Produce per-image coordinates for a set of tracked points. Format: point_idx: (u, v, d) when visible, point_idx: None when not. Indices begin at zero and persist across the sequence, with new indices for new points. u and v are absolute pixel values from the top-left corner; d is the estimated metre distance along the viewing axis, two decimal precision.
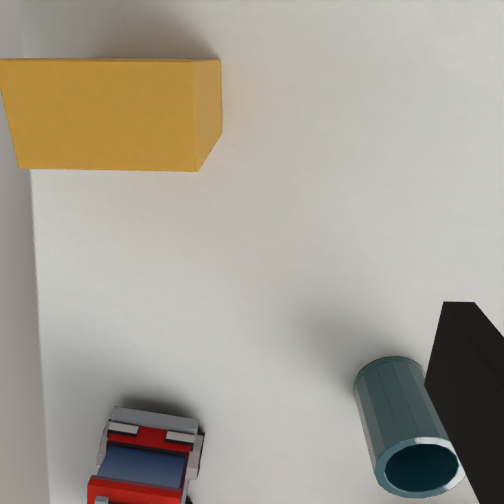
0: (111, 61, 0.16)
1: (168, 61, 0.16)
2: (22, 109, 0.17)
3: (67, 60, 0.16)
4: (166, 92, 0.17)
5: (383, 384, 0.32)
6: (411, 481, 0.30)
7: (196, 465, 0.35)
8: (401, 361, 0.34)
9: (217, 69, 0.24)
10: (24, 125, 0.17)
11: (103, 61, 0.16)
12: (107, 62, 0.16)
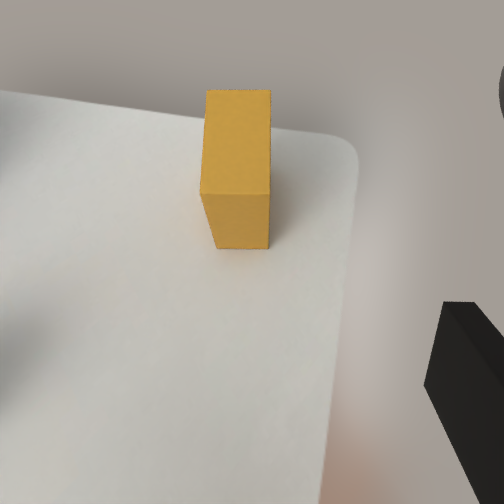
0: (269, 149, 0.27)
1: (269, 180, 0.26)
2: (242, 98, 0.28)
3: (270, 126, 0.27)
4: (251, 178, 0.26)
5: None
6: None
7: None
8: None
9: (262, 241, 0.33)
10: (233, 97, 0.28)
11: (269, 145, 0.27)
12: (269, 147, 0.27)
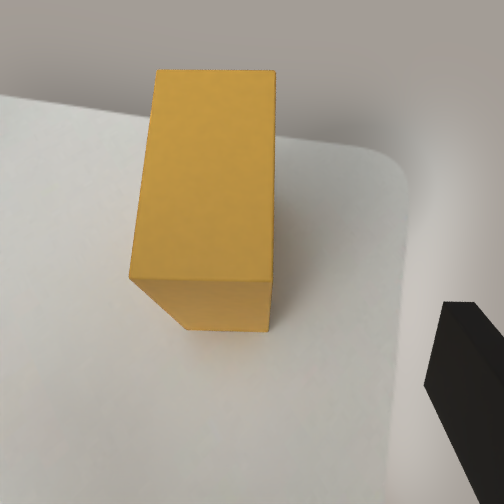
0: (272, 185, 0.13)
1: (272, 251, 0.13)
2: (222, 86, 0.15)
3: (273, 140, 0.14)
4: (235, 245, 0.13)
5: None
6: None
7: None
8: None
9: (258, 326, 0.20)
10: (205, 84, 0.15)
11: (272, 177, 0.14)
12: (271, 181, 0.13)
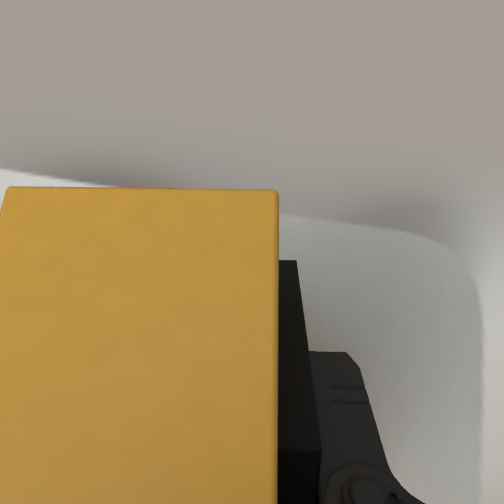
0: None
1: None
2: (153, 231, 0.06)
3: (275, 388, 0.06)
4: None
5: None
6: None
7: None
8: None
9: None
10: (112, 227, 0.06)
11: None
12: None
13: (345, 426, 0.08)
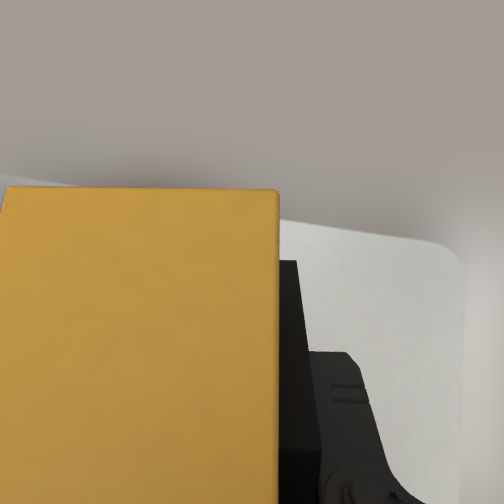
0: None
1: None
2: (154, 231, 0.06)
3: (276, 387, 0.06)
4: None
5: None
6: None
7: None
8: None
9: None
10: (114, 227, 0.06)
11: None
12: None
13: (345, 426, 0.08)
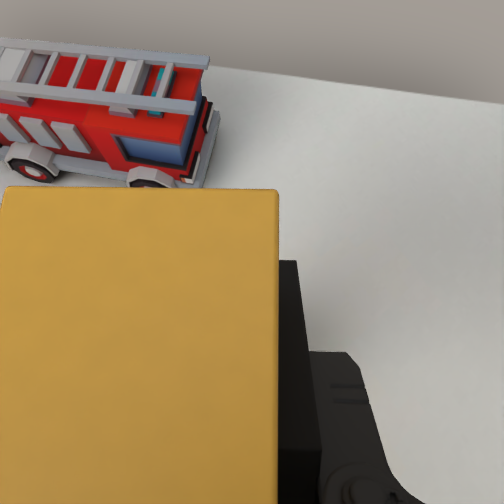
0: None
1: None
2: (153, 231, 0.06)
3: (275, 388, 0.06)
4: None
5: None
6: None
7: (157, 179, 0.31)
8: None
9: None
10: (113, 227, 0.06)
11: None
12: None
13: (345, 426, 0.08)
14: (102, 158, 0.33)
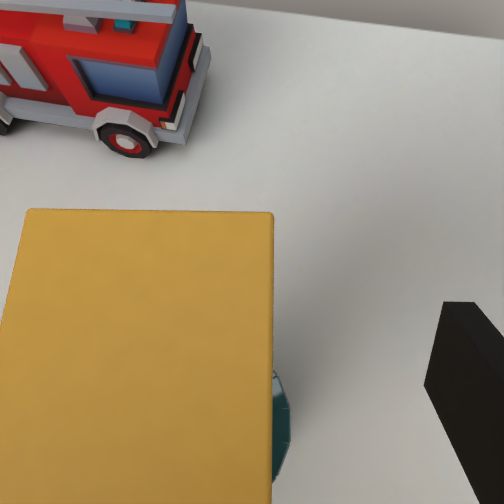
0: None
1: None
2: (161, 250, 0.07)
3: (269, 391, 0.06)
4: None
5: None
6: None
7: (131, 122, 0.25)
8: None
9: None
10: (124, 247, 0.07)
11: (267, 503, 0.06)
12: None
13: None
14: (64, 100, 0.26)
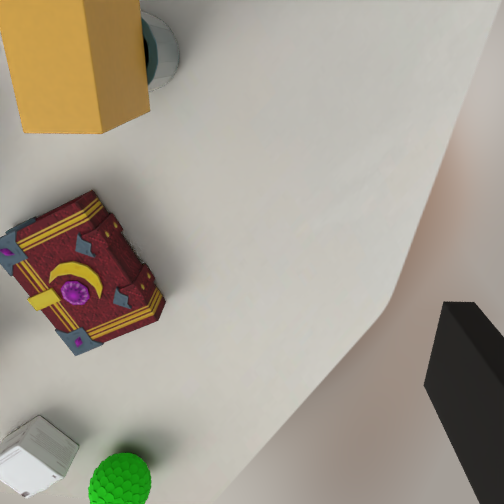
0: (92, 68, 0.21)
1: (99, 115, 0.22)
2: None
3: (87, 29, 0.20)
4: (78, 112, 0.22)
5: (165, 30, 0.34)
6: None
7: None
8: (177, 56, 0.36)
9: None
10: None
11: (91, 61, 0.21)
12: (90, 65, 0.21)
13: None
14: None
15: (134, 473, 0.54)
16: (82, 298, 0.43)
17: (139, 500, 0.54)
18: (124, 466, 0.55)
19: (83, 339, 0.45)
